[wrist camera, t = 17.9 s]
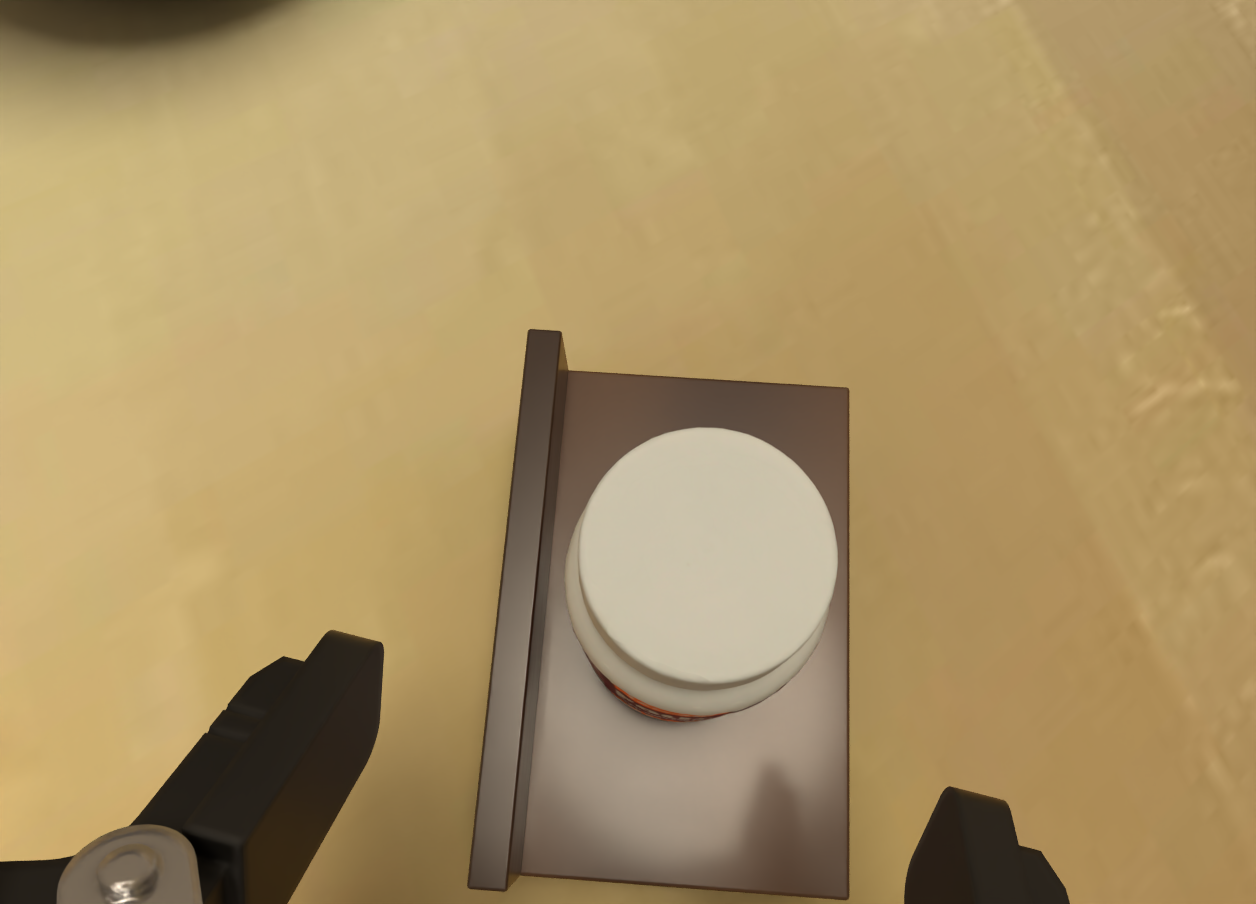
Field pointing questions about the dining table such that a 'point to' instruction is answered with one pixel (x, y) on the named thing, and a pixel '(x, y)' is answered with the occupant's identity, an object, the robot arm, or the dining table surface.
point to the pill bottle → (700, 574)
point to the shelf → (622, 737)
